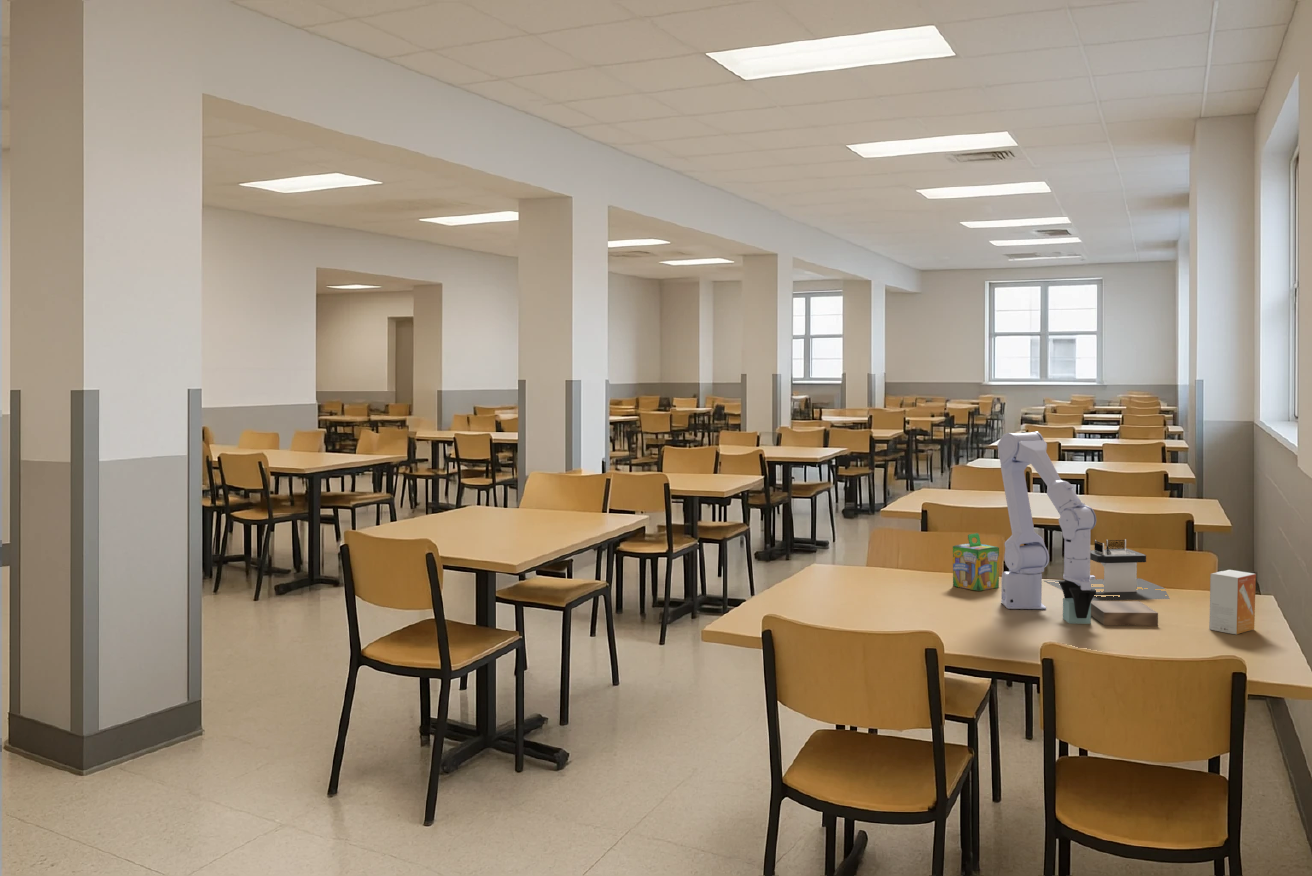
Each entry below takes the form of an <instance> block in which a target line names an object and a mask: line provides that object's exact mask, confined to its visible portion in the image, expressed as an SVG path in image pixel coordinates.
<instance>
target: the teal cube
mask: <svg viewBox="0 0 1312 876" xmlns="http://www.w3.org/2000/svg"><path fill="white" fill-rule="evenodd" d="M1062 619H1063V620H1064V621H1065V622H1066V623H1068V624H1078V625H1079V624H1082V625H1085V624H1087V625H1088V624H1089V625H1090V624H1092V620H1091V619H1092V616H1091V604H1090V607H1089V611H1088V615H1087V618H1077V617H1076V613H1075V605H1074V600H1073V598H1064V597H1063V598H1062Z"/></svg>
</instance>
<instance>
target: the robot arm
mask: <svg viewBox="0 0 1312 876" xmlns="http://www.w3.org/2000/svg"><path fill="white" fill-rule="evenodd" d="M1047 449H1048V443H1047V442H1046V441H1045V439H1044V437H1043V435H1042V433H1040V432H1039V431H1031V432H1007V433H1004V434H1002V435H1001V438H1000V439H999V441H998V443H997V451H998V455H999V462H1000V470H1001V471H1000V472H1001V476H1002V482H1003V488H1004V489H1003V490H1004V495H1005V500H1006V505H1007V512H1008V518H1009V524H1010V529H1011V535H1010V537H1008V538H1007V540H1005V541H1004V556H1003V558H1004V562H1005V566H1006V567H1007V568H1008V571H1003V572H1002V573H1001V594H1000V595H1001V599H1000V602H1001V604H1002V605H1003V606H1004V607H1005V608H1006V609H1009V610H1011V609H1012V610H1019V609H1020V610H1046V609H1047V606H1045V605H1044V604H1043V603H1042V600H1043V599H1042V593H1043V592H1042V591H1043V589H1042V588H1043V587H1042V586H1043V585H1042V584H1043V583H1042V582H1043V578H1042V576H1043V574H1042V573H1044V572H1045V568H1046V567H1047V566H1048V565H1049V562H1050V554H1049V553H1050V552H1049V551H1048V549H1047V547H1046V544H1045V542H1044V541H1045V540H1044V538H1043V537H1042V536H1041V535H1039V534H1038V533H1037V532H1035V527H1034V521H1033V516H1032V510H1031V505H1030V497H1029V493H1028V487H1027V481H1026V475H1025V470H1026V469H1027V467H1028V466H1029V465H1031V466H1032V467H1033V468H1034V470H1035V471H1036V473H1037V474H1038V475H1039V477H1040V478H1041V479H1042V480H1043V482H1044V483H1045V485H1046V486H1047V489H1046V495H1047V496H1048V498H1049V499H1050V501H1051V503H1052V505H1053V506H1054V507H1055V510H1056V512H1057V513H1058V515H1059V516H1060V517H1059V518H1058V524H1059V527H1060V528H1061V533H1062V534H1061V535H1062V538H1063V539H1064V540H1063V541H1064V551H1063V553H1064V554H1063V555H1064V556H1063V558H1064V559H1063V575H1062V578H1063V579H1059V580H1060V581H1059V584H1060V586H1061V588H1062V590H1061V591H1062V592H1063V593H1062V594H1063V598H1073V600H1074V605H1075V613H1076V617H1077V618H1087V615H1088V611H1089V607H1090V604H1091V601H1092V599H1093V597H1094V595H1095V594H1096V590H1095V589H1091V582H1090V581H1091V580H1094V579H1096V576H1095V575H1093V574H1092V575H1091V560H1090V550H1091V530H1093V529H1094V528H1095V527H1096V524H1097V515H1096V512H1095V510H1094V508H1092V507H1091V506H1089V505H1087V504H1085V502H1082V501H1081V499H1080V497H1079V496H1078V495H1077V492H1076V491H1075V489H1073V485H1072V484H1071V483H1070V482H1069V481H1066V480H1063V479H1061V477H1060V475H1059V473H1058V472H1057V469H1056V468H1055V466H1054V464H1053V462H1052V460H1051V458H1050V456H1049V455H1048V453H1047ZM1024 544H1025V545H1024Z"/></svg>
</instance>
